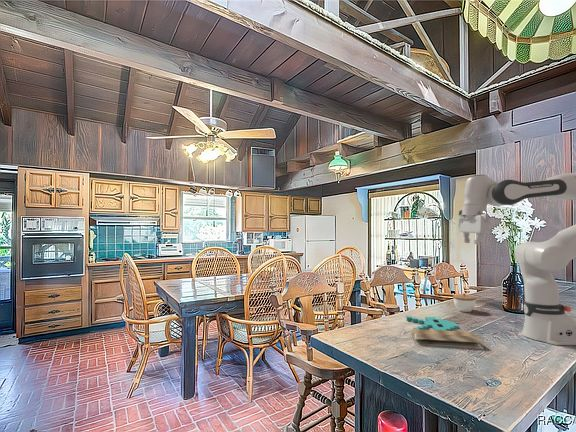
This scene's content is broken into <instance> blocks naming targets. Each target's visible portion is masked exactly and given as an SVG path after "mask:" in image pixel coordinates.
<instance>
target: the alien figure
mask: <svg viewBox="0 0 576 432" xmlns="http://www.w3.org/2000/svg"><path fill="white" fill-rule="evenodd" d="M424 319H425V320H424ZM424 319H421V318H417V317H413V316H408V315H407V316H406V321H407V322H412V323H417V325H418V326H417V327H413V328H412V329H423V330H429V328H432V330H441V331H456V330H457V329H460V327H459V325H458V324H457V323H456V322H455V321H449V320H448V319H442V318H438V317H435V316H425V318H424Z"/></svg>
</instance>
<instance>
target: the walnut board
mask: <svg viewBox="0 0 576 432" xmlns="http://www.w3.org/2000/svg"><path fill="white" fill-rule="evenodd" d="M411 330H412V333H413V336H414V337H413V336H412V337H413V338H414V339H415V333H422V334H440V335H457V336H474V337H477V336H476V335H475V334H474V332H472V331H456V330H451V331H441V330H434V329H424V330H423V329H413V328H412V329H411Z"/></svg>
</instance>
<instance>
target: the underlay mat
mask: <svg viewBox="0 0 576 432" xmlns="http://www.w3.org/2000/svg"><path fill="white" fill-rule="evenodd" d="M411 335H412V338H413V341H414V344H415V345H418V346H419V345H420V346H433V347H449V348H451V347H452V348H462V349H479V350H484V349H485V348H484V347H483V346H482V344H481V343H467V342H451V341H435V340H419V339H415V338H414V336H413V332H411ZM417 341H418V342H417Z"/></svg>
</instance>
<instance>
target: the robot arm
mask: <svg viewBox="0 0 576 432" xmlns="http://www.w3.org/2000/svg"><path fill="white" fill-rule="evenodd" d="M463 193H464V195H463V196H464V201H463V204H462V205H463V206H462V208H461V209H460V210H459V211H458V213H457V215H458V216H459V217H458V223H457V225H458V227H457V228H458V231H459V232H458V233H463V234H462V236H463V243H465V244H469V243H470V241H471V239H470V234H475V237H476V238H475V239H474V245H479V246H480V245H481V244H482V243H481V242H482V239H483V237H484V234H485V235H488V234H489V233H490V228H491V227H490V225H491V224H490V217H489V214H488V213H487V207H488V205H489V206H494V207H500V206H511V205H512V206H513V205H516V204H518V203H519V202H521V201H524V200H526V199H531V198H532V199H533V198H542V197H543V198H544V197H545V198H547V199H548V200H551V201H561V202H562V201H572V200H573V201H574V200H576V172H567V173H561V174H557V175H556V174H555V175H553V176H549V177H547V178H546V179H545V180H537V181H536V180H535V181H529V182H527V181H526V182H524V181H523V182H522V181H518V180H515V179H506V180H505V179H504V180H502V181H500V182H498V181H495V180H494V179H492V178H490V177H489V176H488V175H487V174H476V175H472V176H470V177H468V178H467V179H466V182H465V185H464V191H463ZM513 254H514V258H515V259H516V261H517V262H518V265H519V269H520V273H521V276H522V280H523V289H524V290H523V291H524V300H523V312H524V324H523V328H522V331H521V334H522V336H524V337H526V338H528V339H531V340H536V341H538V342H544V343H546V344H551V345H554V346H576V319H574V318H572V317H571V315H569V314H567V313H566V312H568V313H570V312H571V311H572V308H571V307H570V306H568V305H563V304H562V303H560V296H559V293H560V292H559V284H558V282H557V280H556V279H555V278H554V275H553V273H552V272H554V271H560V270H564V268H566V267H567V266H568V264H569V263H570V262H571V261H572V260H573V259H575V258H576V224H574V225H571V226H569V227H567V228H564V229H562V230H559V231H558V232H557V233H556V235H553V236H552V237H551V238H549V239H548V240H544V241H525V242H522V243H519V244H518V245H516V247H515V248H514V253H513Z"/></svg>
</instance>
